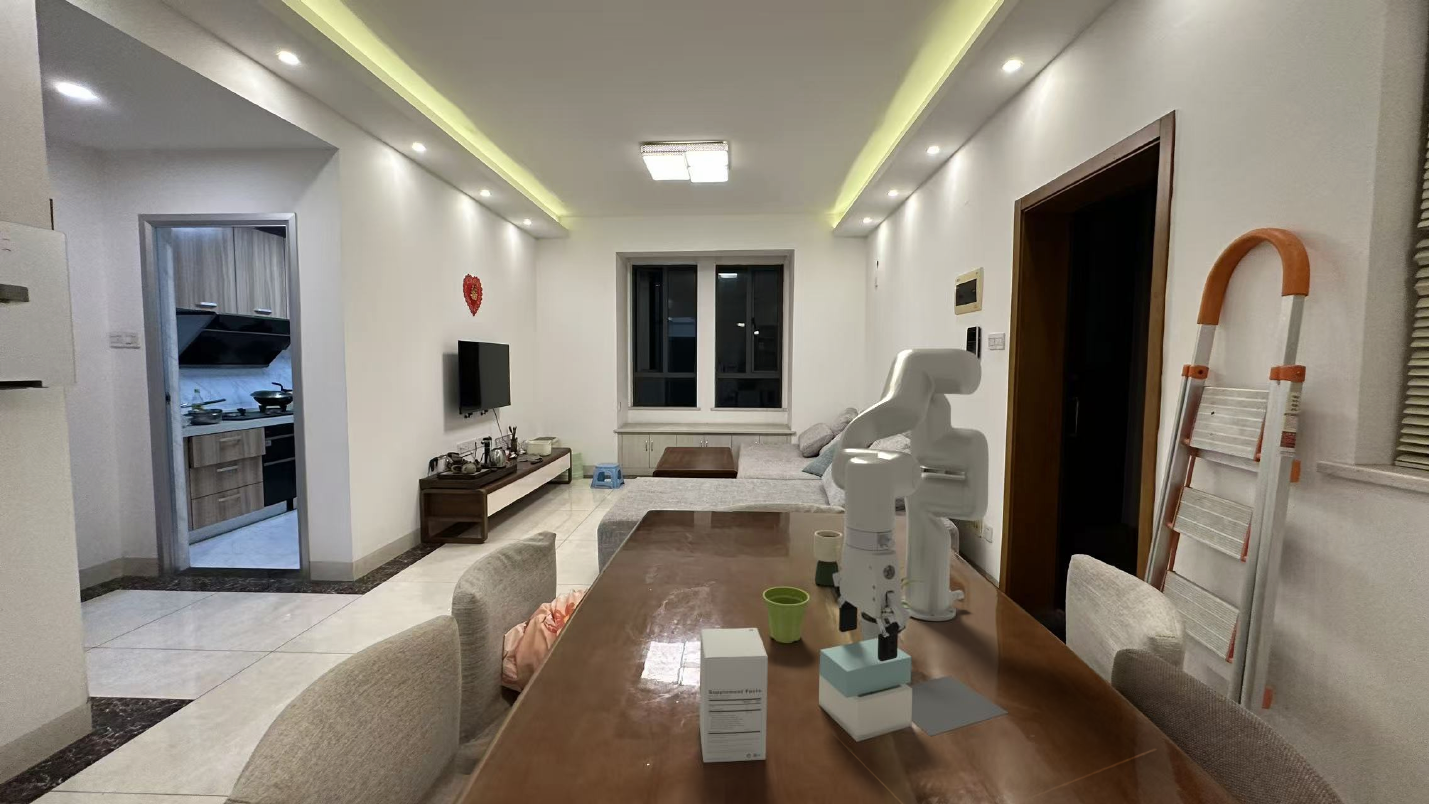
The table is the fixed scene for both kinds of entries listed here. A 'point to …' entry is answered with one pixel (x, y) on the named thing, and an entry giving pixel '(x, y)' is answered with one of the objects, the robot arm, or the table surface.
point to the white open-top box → (868, 709)
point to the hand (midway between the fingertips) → (866, 643)
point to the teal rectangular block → (863, 668)
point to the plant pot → (785, 612)
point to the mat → (949, 705)
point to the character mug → (827, 555)
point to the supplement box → (733, 695)
